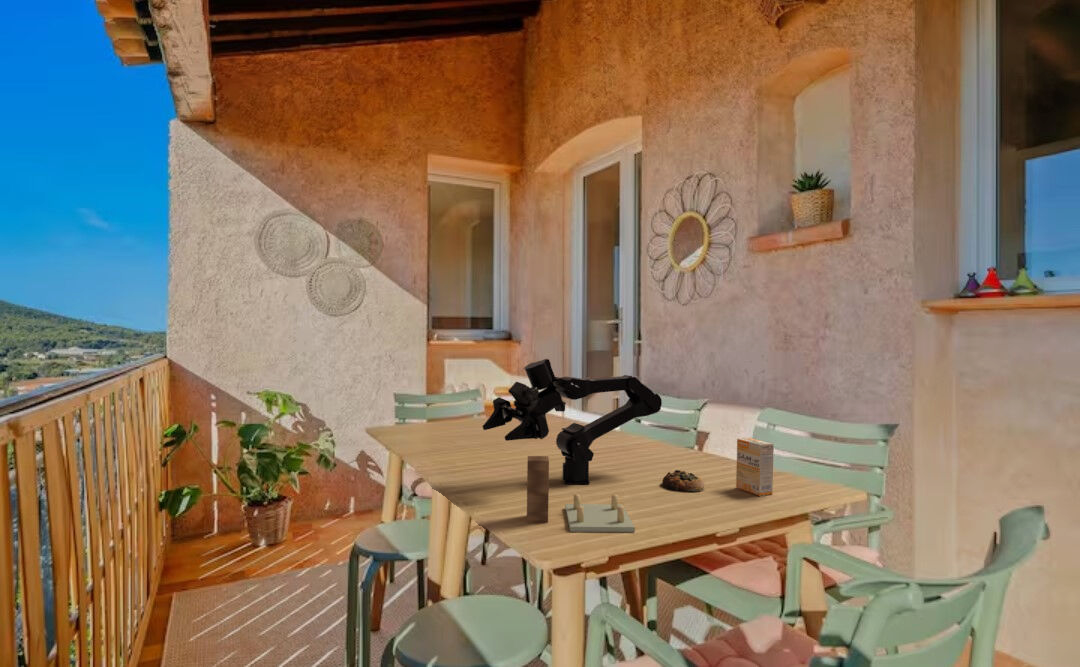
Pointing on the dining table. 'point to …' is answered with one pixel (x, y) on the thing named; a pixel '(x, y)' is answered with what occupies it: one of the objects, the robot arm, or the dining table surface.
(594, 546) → the dining table surface
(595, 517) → the pin plate
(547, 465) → the walnut block
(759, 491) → the supplement box
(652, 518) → the dining table surface
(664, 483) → the bread roll
